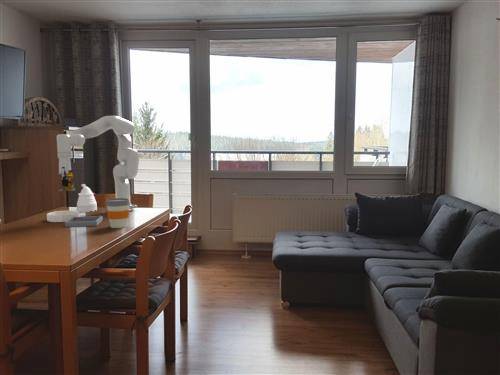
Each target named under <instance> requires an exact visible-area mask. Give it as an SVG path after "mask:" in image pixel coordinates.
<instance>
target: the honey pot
mask: <svg viewBox="0 0 500 375" xmlns="http://www.w3.org/2000/svg"><path fill="white" fill-rule="evenodd" d="M81 187H82V189H81V190H80V193H78V194H77V195H78V199H77V202H76V211H78V212H79V213H90V211H92V212H96V211H97V210H98V206H97V201H96V197H95V196H94V192H93V191H92V190H91V188H90V187H88V186H86V184H85V183H83V184H81ZM95 210H96V211H95Z"/></svg>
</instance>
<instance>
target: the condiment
mask: <svg viewBox="0 0 500 375" xmlns="http://www.w3.org/2000/svg"><path fill="white" fill-rule="evenodd" d="M64 174H66V173H64ZM65 176H66V175H65ZM67 179H68V186H62V189H59V190H58V192H71V191H76V188H75V187H74V186H75V185H74V175H73V170H72V169H71V170H70V171H69V174H67Z"/></svg>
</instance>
